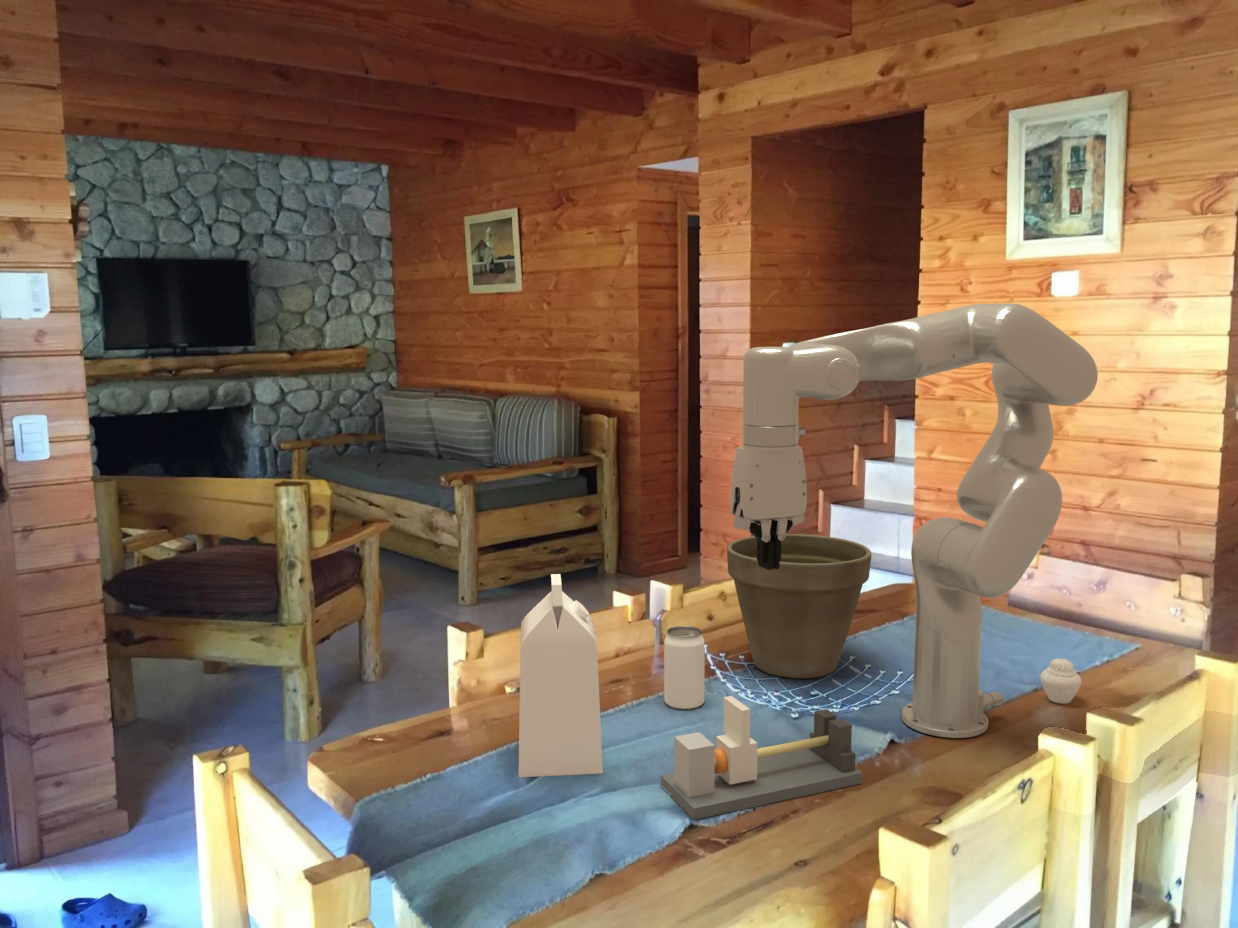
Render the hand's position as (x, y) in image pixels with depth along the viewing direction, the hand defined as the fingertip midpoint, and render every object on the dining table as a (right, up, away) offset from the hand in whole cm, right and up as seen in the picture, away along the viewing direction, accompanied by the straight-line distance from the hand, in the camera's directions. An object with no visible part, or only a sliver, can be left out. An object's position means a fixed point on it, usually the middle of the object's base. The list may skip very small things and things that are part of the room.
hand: (768, 567), depth 141 cm
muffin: (+50, -24, +22) cm, 60 cm away
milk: (-29, -28, +3) cm, 40 cm away
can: (-10, -24, +22) cm, 35 cm away
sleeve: (-6, -27, -8) cm, 28 cm away
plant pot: (+11, -22, +39) cm, 46 cm away
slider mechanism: (-2, -28, -6) cm, 29 cm away
